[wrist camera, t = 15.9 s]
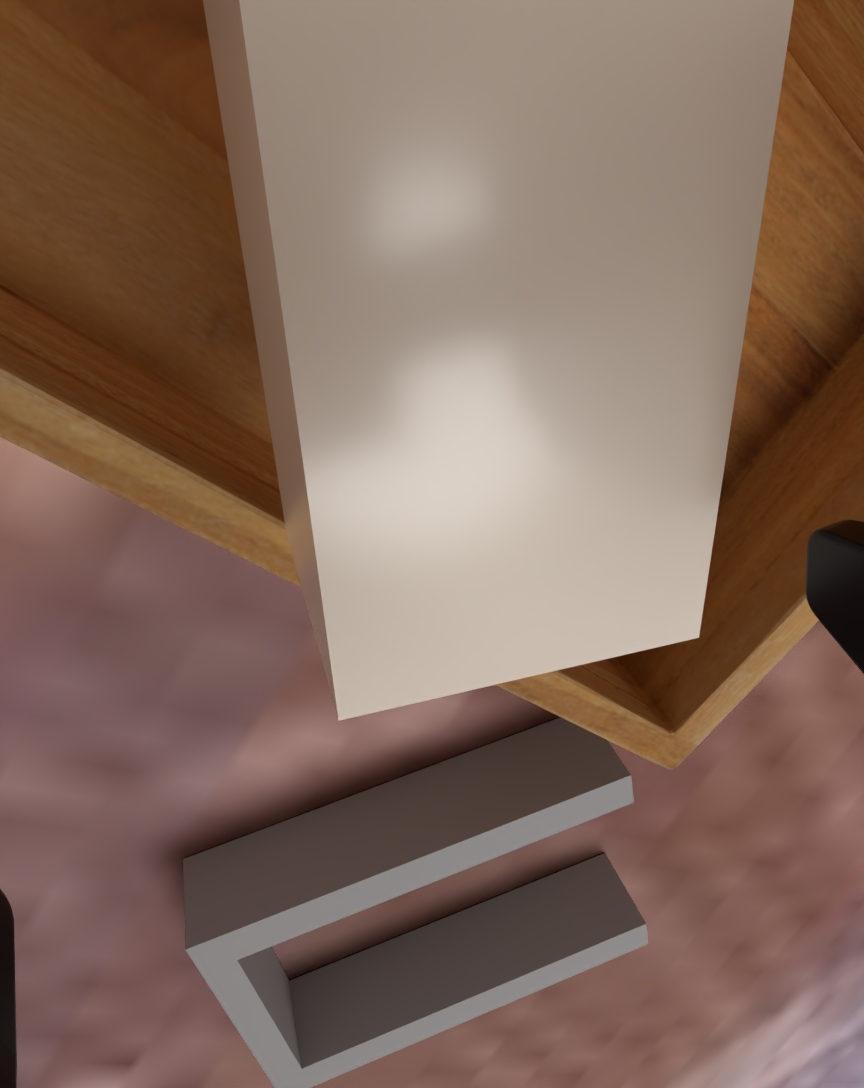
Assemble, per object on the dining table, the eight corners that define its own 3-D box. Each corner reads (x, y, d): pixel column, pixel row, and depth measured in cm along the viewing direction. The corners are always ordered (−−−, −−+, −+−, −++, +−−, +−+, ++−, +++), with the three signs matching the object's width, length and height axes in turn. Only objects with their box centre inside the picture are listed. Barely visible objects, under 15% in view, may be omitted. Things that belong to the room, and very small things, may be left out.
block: (165, -238, 9) (166, -522, 5) (573, -225, 10) (860, -446, 6) (286, 533, 14) (338, 720, 10) (551, 487, 15) (699, 637, 11)
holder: (271, 1010, 28) (282, 1099, 26) (183, 859, 24) (185, 949, 21) (607, 873, 30) (648, 943, 28) (585, 708, 26) (631, 775, 23)
